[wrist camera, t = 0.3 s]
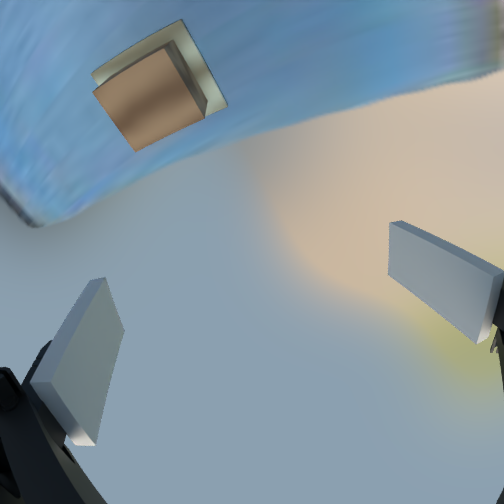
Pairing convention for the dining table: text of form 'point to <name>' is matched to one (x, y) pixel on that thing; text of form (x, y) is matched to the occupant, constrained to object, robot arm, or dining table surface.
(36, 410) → the robot arm
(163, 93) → the tower base
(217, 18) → the dining table surface
